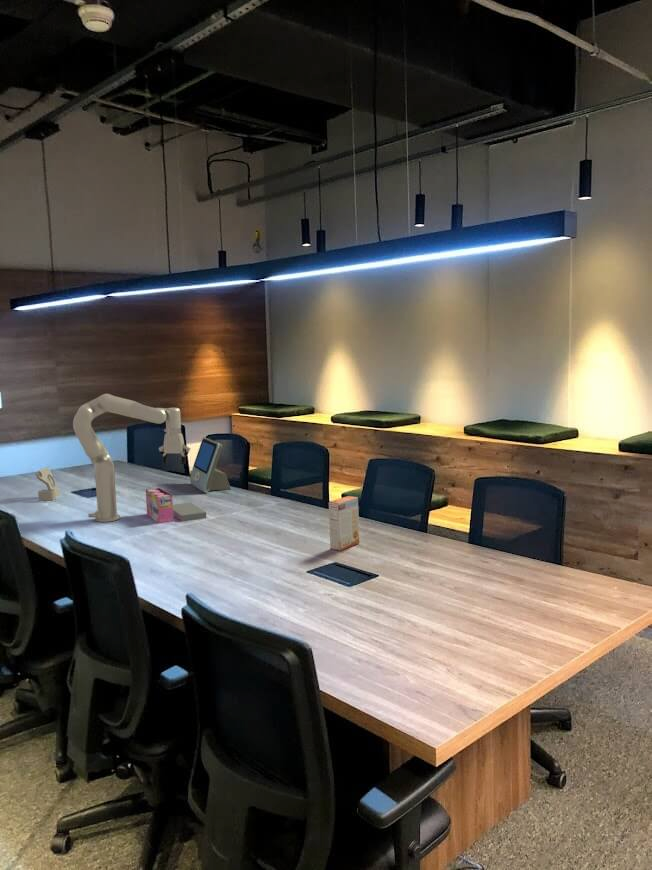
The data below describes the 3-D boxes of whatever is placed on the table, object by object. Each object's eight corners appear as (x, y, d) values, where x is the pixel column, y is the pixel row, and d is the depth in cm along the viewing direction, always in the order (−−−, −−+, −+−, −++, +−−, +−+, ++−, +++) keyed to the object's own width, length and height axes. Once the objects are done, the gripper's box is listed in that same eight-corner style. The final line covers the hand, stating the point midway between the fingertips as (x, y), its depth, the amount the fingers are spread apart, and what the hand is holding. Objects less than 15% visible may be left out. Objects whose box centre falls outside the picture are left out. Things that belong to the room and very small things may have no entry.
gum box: (145, 514, 378) (144, 489, 376) (160, 512, 382) (159, 487, 380) (158, 523, 358) (157, 497, 356) (174, 521, 361) (172, 495, 360)
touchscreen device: (187, 484, 456) (186, 437, 452) (217, 482, 464) (216, 436, 461) (202, 494, 424) (201, 444, 421) (233, 491, 433) (233, 442, 429)
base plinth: (181, 521, 361) (181, 515, 360) (167, 510, 385) (167, 505, 384) (206, 517, 367) (206, 512, 366) (190, 507, 390) (190, 502, 390)
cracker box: (349, 541, 317) (348, 495, 315) (359, 543, 314) (359, 496, 311) (329, 549, 307) (327, 501, 304) (340, 551, 303) (339, 503, 300)
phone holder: (54, 501, 414) (51, 471, 412) (36, 502, 414) (34, 471, 412) (65, 495, 431) (63, 466, 429) (49, 495, 431) (46, 466, 429)
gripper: (155, 432, 372) (156, 464, 374) (186, 432, 369) (187, 465, 371) (161, 430, 380) (162, 462, 382) (192, 430, 376) (193, 463, 378)
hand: (174, 463), depth 376 cm, fingers open, 9 cm apart
